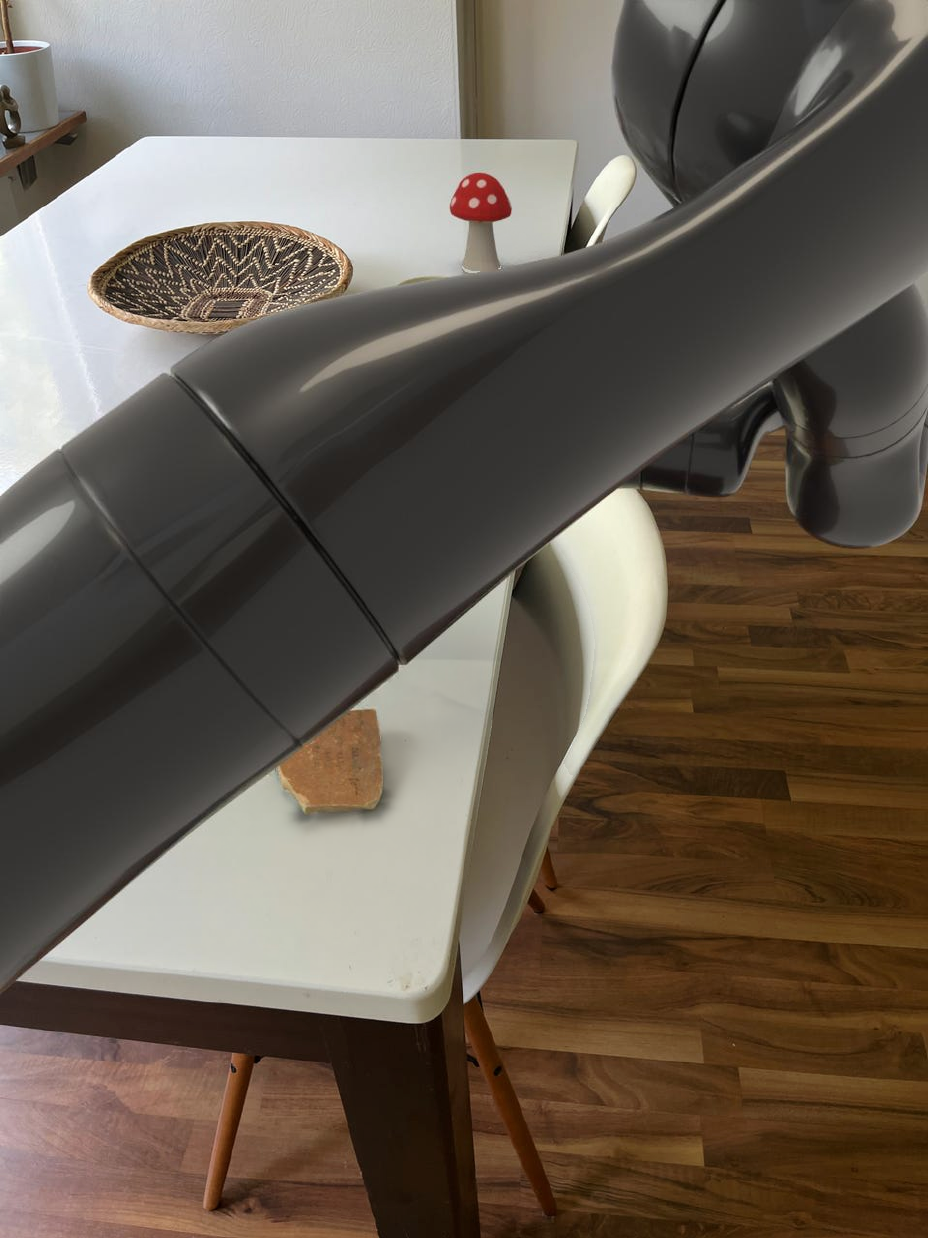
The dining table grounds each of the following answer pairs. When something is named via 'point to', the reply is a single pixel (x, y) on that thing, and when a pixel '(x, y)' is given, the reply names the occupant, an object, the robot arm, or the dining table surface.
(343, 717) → the pottery shard
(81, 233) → the dining table surface
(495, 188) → the decorative mushroom
